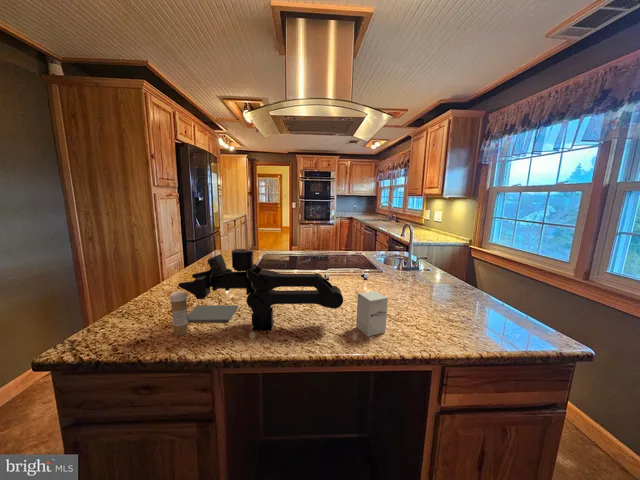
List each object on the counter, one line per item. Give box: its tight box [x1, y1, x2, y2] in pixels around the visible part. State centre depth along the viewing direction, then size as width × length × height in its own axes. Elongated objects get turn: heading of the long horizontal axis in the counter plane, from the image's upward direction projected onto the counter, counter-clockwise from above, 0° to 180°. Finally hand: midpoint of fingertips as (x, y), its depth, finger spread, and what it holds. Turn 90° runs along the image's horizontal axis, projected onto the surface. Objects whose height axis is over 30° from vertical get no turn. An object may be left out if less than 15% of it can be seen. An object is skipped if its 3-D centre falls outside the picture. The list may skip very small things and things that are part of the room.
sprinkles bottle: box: [169, 291, 190, 336], centre depth 80 cm, size 5×5×13 cm
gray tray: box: [188, 304, 239, 323], centre depth 94 cm, size 16×12×1 cm
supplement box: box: [355, 290, 389, 338], centre depth 84 cm, size 7×7×13 cm
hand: (185, 280), depth 83 cm, fingers open, 9 cm apart
